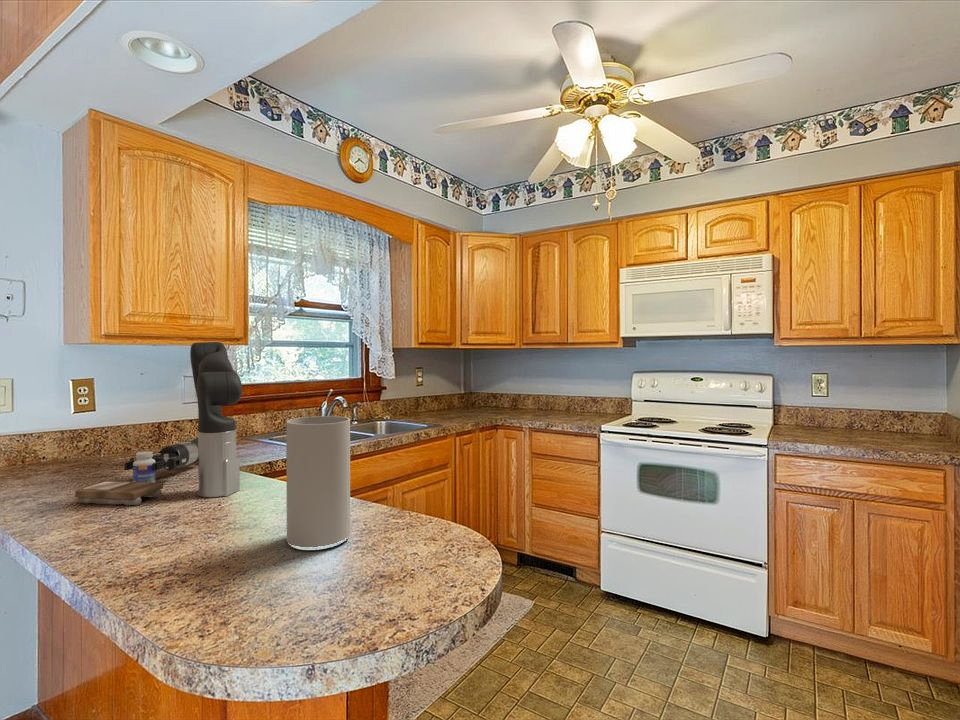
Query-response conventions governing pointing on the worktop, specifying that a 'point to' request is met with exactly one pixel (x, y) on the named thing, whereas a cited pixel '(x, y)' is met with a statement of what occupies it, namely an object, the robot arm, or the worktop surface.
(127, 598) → the worktop surface
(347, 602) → the worktop surface
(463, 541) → the worktop surface
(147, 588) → the worktop surface
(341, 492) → the cylinder vase
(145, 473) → the pill bottle
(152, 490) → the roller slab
